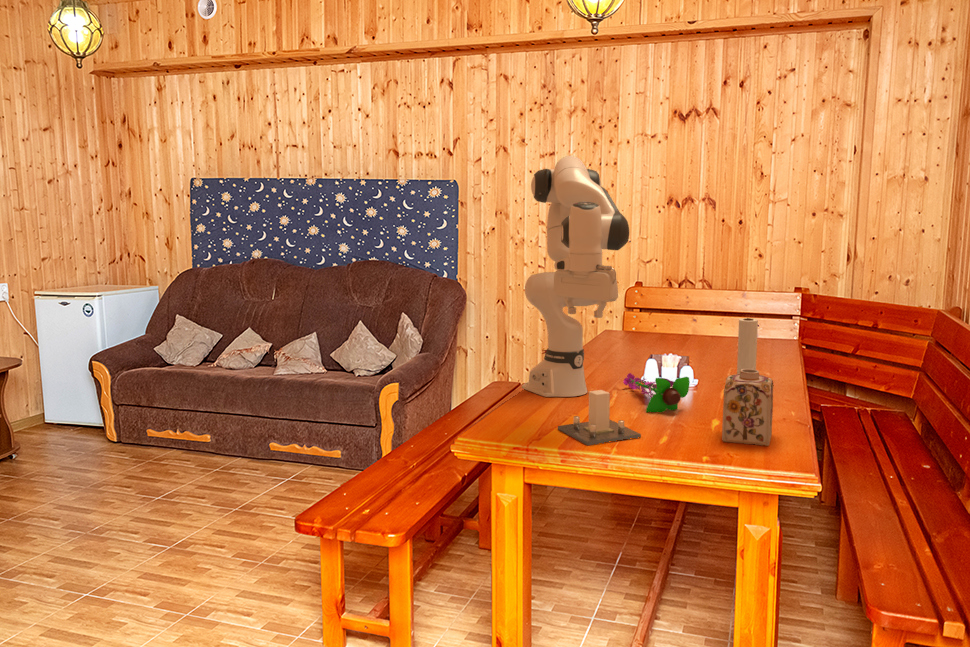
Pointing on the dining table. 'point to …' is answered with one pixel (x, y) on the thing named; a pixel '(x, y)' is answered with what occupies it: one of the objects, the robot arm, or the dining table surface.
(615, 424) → the grey square base plate
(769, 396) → the decorative jar
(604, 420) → the post
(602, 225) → the robot arm
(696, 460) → the dining table surface
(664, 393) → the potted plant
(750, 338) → the tan cylinder
